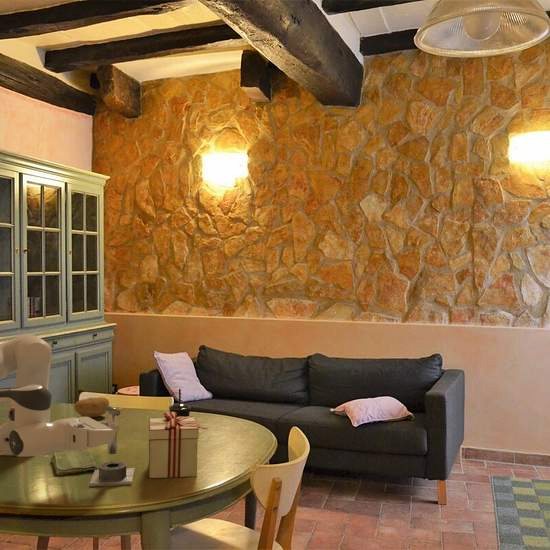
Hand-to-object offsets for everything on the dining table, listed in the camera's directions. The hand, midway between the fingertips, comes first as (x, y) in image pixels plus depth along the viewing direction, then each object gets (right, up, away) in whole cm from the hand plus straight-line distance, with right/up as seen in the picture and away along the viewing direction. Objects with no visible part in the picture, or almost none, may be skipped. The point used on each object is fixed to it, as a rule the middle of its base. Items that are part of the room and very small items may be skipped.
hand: (115, 425), depth 197 cm
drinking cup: (+14, -15, +35) cm, 40 cm away
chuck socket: (-1, -16, 0) cm, 16 cm away
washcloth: (-16, -16, +12) cm, 26 cm away
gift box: (+17, -16, +9) cm, 25 cm away
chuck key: (-1, -8, 0) cm, 8 cm away
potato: (-28, -14, +74) cm, 80 cm away
